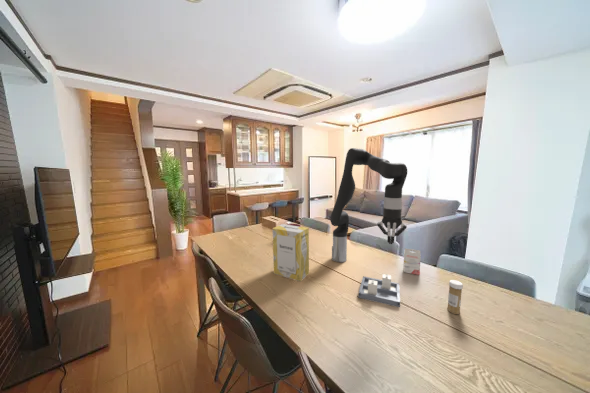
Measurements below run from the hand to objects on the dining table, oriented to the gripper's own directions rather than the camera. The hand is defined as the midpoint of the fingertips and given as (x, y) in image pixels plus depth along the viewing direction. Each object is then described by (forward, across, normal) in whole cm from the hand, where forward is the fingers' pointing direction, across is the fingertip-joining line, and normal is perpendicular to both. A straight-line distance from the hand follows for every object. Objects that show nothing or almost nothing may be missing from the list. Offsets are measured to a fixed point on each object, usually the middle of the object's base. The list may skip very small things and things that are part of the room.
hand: (390, 243), depth 99 cm
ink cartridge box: (+27, +12, +32) cm, 44 cm away
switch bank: (+27, -4, +2) cm, 27 cm away
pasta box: (+27, -53, +2) cm, 60 cm away
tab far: (+25, -1, +6) cm, 26 cm away
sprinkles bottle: (+27, +26, 0) cm, 38 cm away
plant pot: (+27, -77, +55) cm, 98 cm away
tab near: (+25, -7, -2) cm, 26 cm away
